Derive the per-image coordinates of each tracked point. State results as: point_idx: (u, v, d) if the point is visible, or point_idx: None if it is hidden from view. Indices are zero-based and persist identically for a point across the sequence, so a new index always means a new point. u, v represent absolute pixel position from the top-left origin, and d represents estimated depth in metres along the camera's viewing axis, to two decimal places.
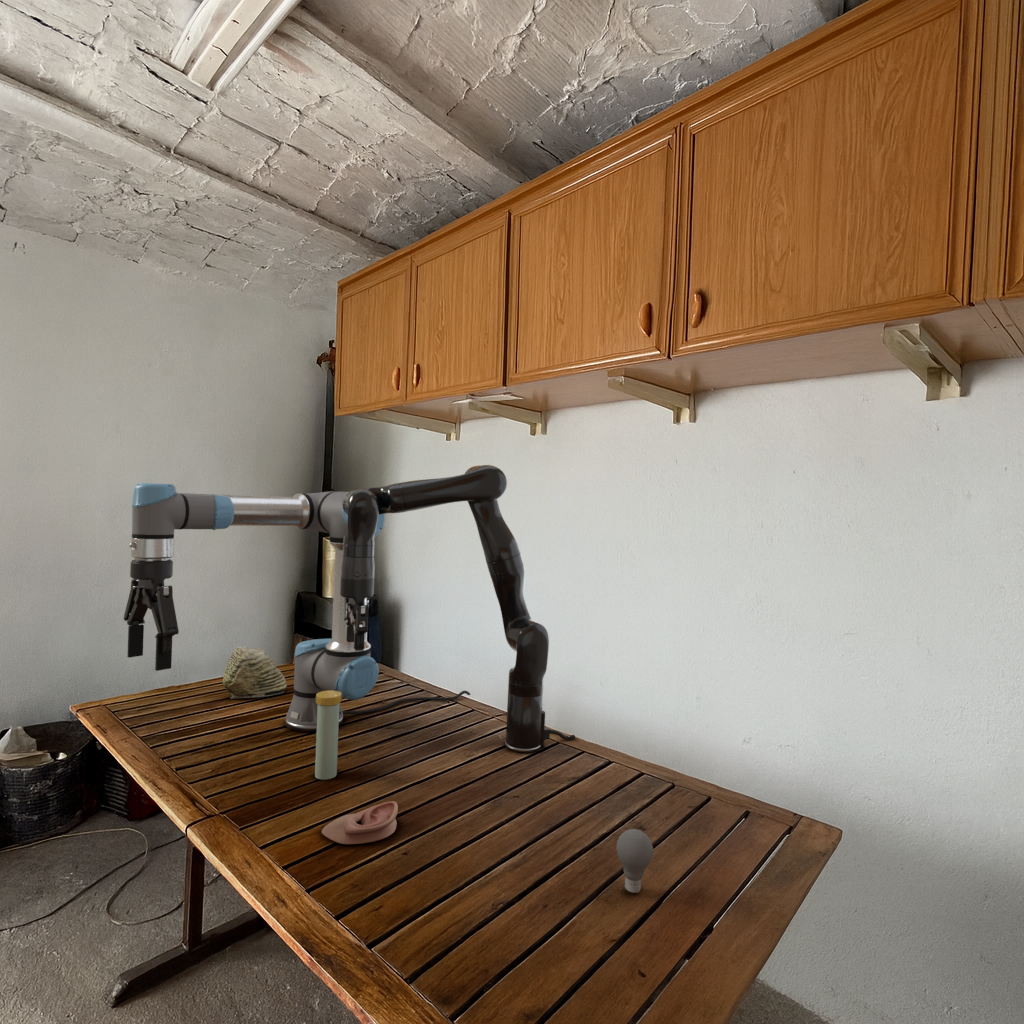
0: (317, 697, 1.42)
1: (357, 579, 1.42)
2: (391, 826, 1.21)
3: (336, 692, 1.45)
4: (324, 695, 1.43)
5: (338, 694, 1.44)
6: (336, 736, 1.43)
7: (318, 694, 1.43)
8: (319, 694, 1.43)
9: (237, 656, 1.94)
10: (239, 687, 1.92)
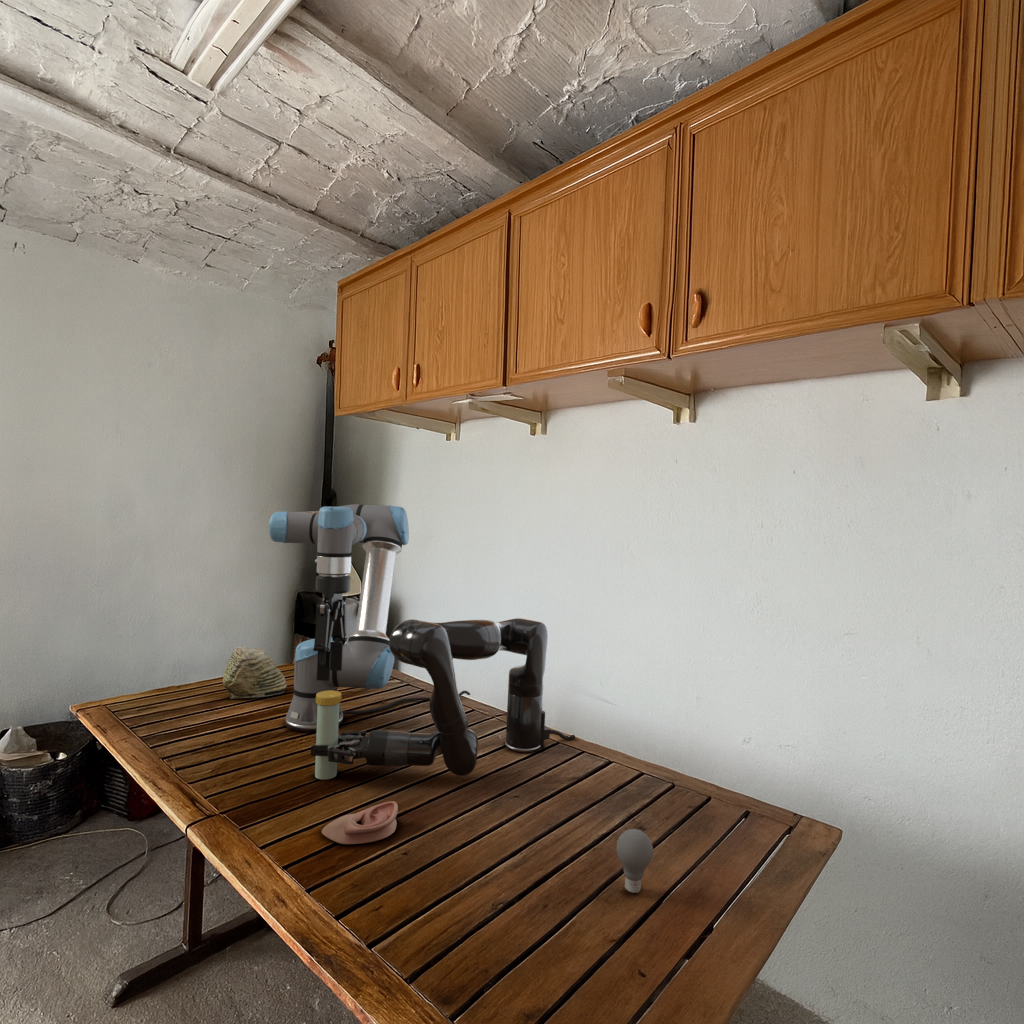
0: (317, 697, 1.42)
1: None
2: (391, 826, 1.21)
3: (336, 692, 1.45)
4: (324, 695, 1.43)
5: (338, 694, 1.44)
6: (336, 736, 1.43)
7: (318, 694, 1.43)
8: (319, 694, 1.43)
9: (237, 656, 1.94)
10: (239, 687, 1.92)
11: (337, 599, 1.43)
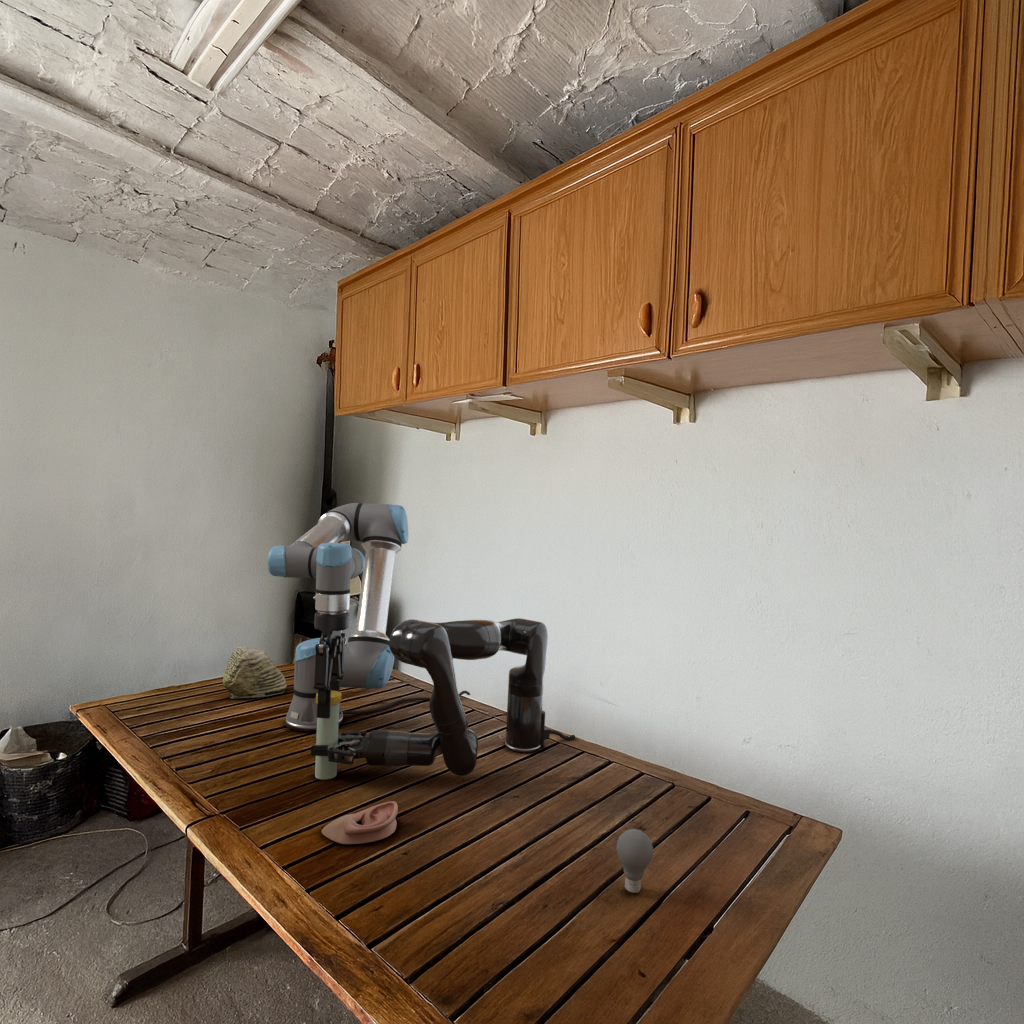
0: (317, 697, 1.42)
1: None
2: (391, 826, 1.21)
3: (336, 692, 1.45)
4: None
5: (338, 694, 1.44)
6: (336, 736, 1.43)
7: None
8: None
9: (237, 656, 1.94)
10: (239, 687, 1.92)
11: (336, 636, 1.44)
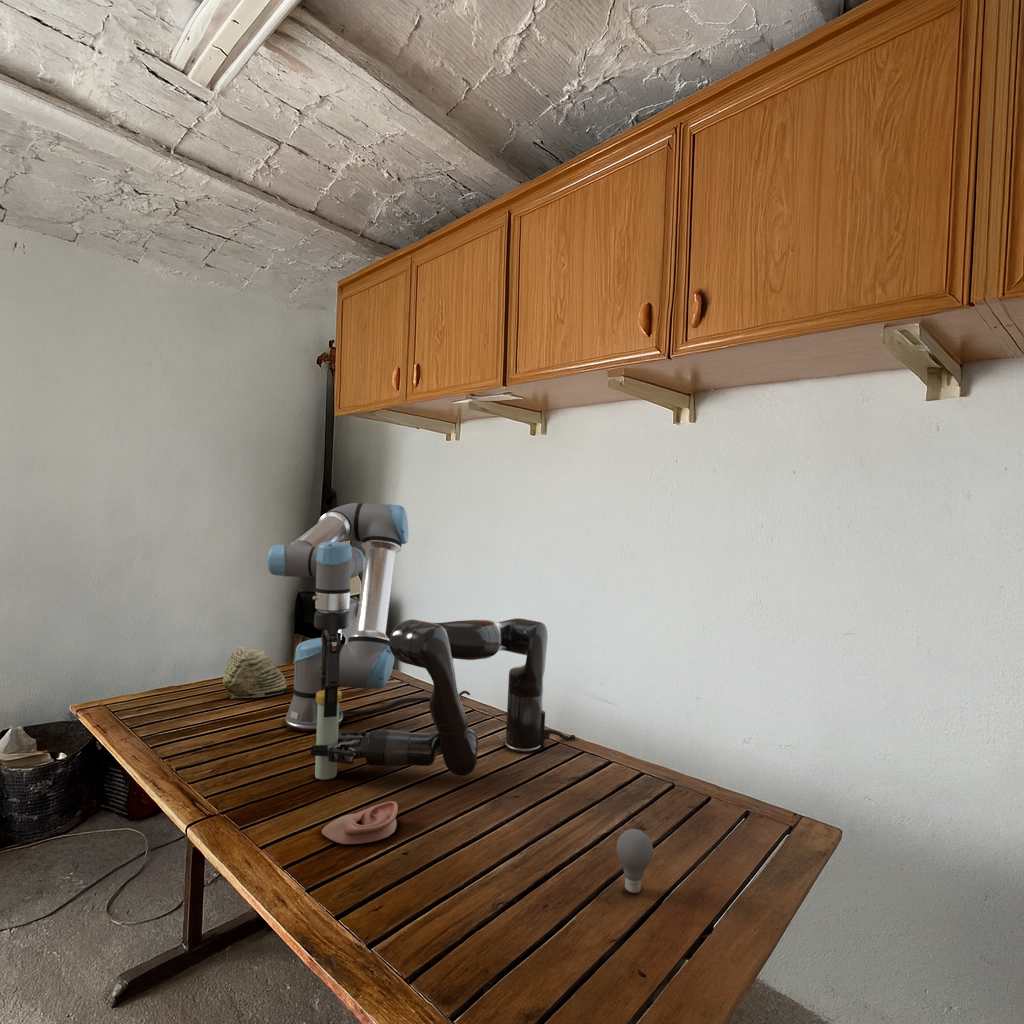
0: None
1: None
2: (391, 826, 1.21)
3: None
4: None
5: None
6: (336, 736, 1.43)
7: None
8: None
9: (237, 656, 1.94)
10: (239, 687, 1.92)
11: None
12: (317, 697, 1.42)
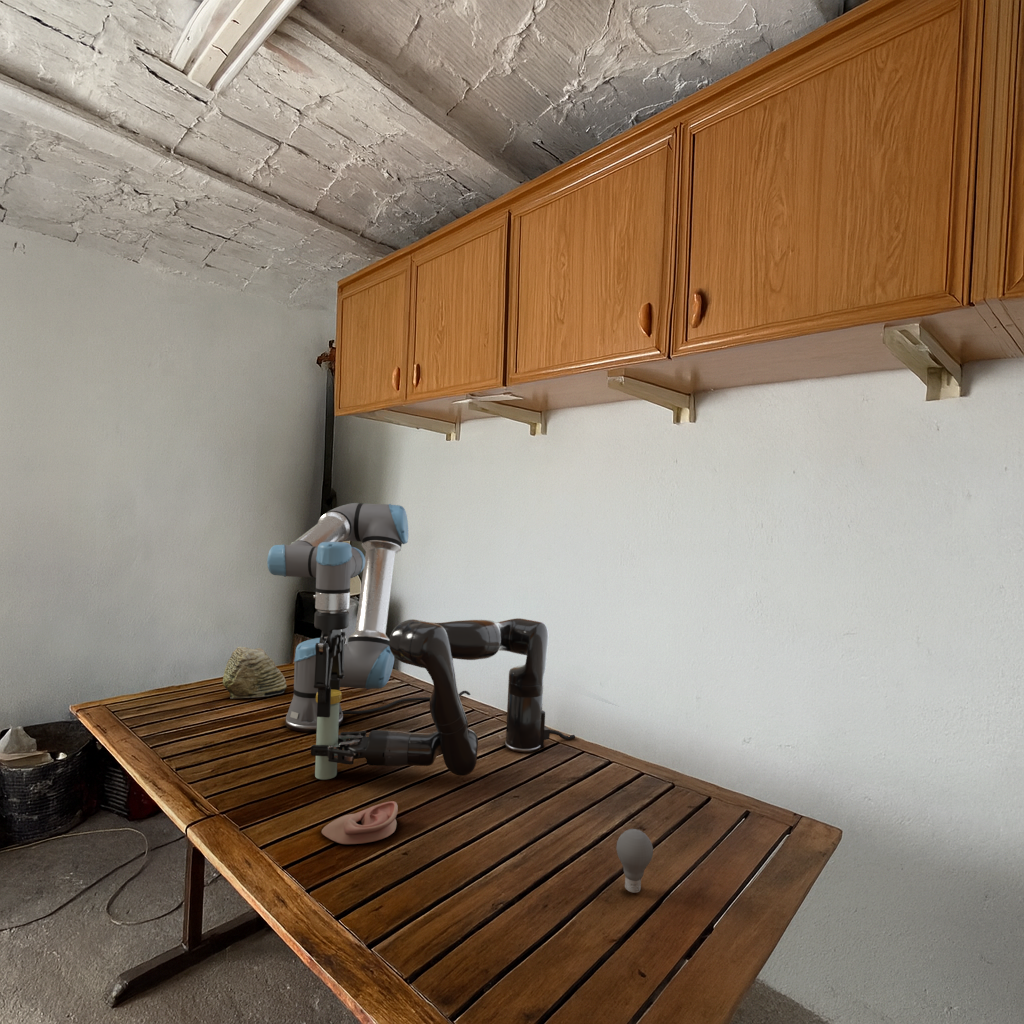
0: None
1: None
2: (391, 826, 1.21)
3: None
4: (331, 694, 1.43)
5: (334, 690, 1.46)
6: (336, 736, 1.43)
7: None
8: None
9: (237, 656, 1.94)
10: (239, 687, 1.92)
11: (336, 635, 1.44)
12: (317, 697, 1.42)
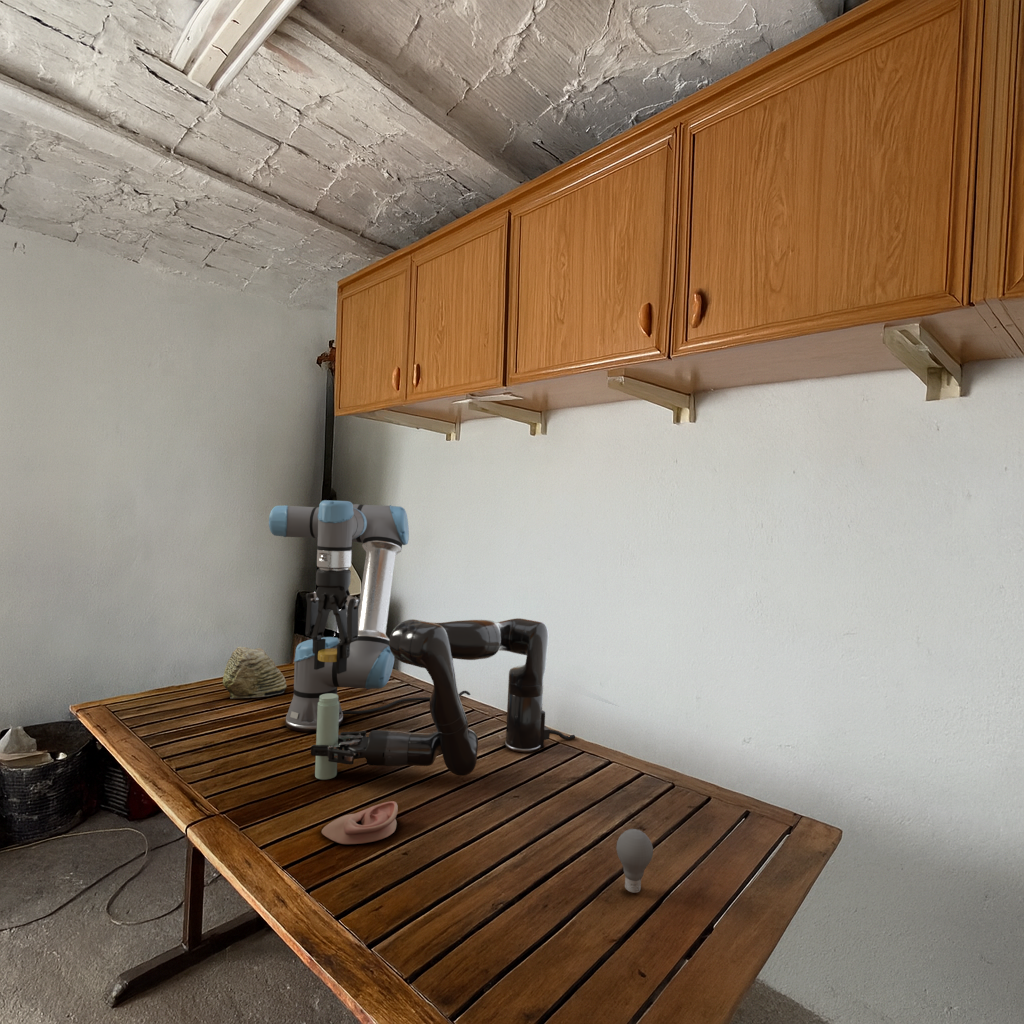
0: None
1: None
2: (391, 826, 1.21)
3: (321, 651, 1.44)
4: (336, 651, 1.44)
5: (325, 649, 1.45)
6: (336, 736, 1.43)
7: None
8: None
9: (237, 656, 1.94)
10: (239, 687, 1.92)
11: None
12: (331, 656, 1.41)
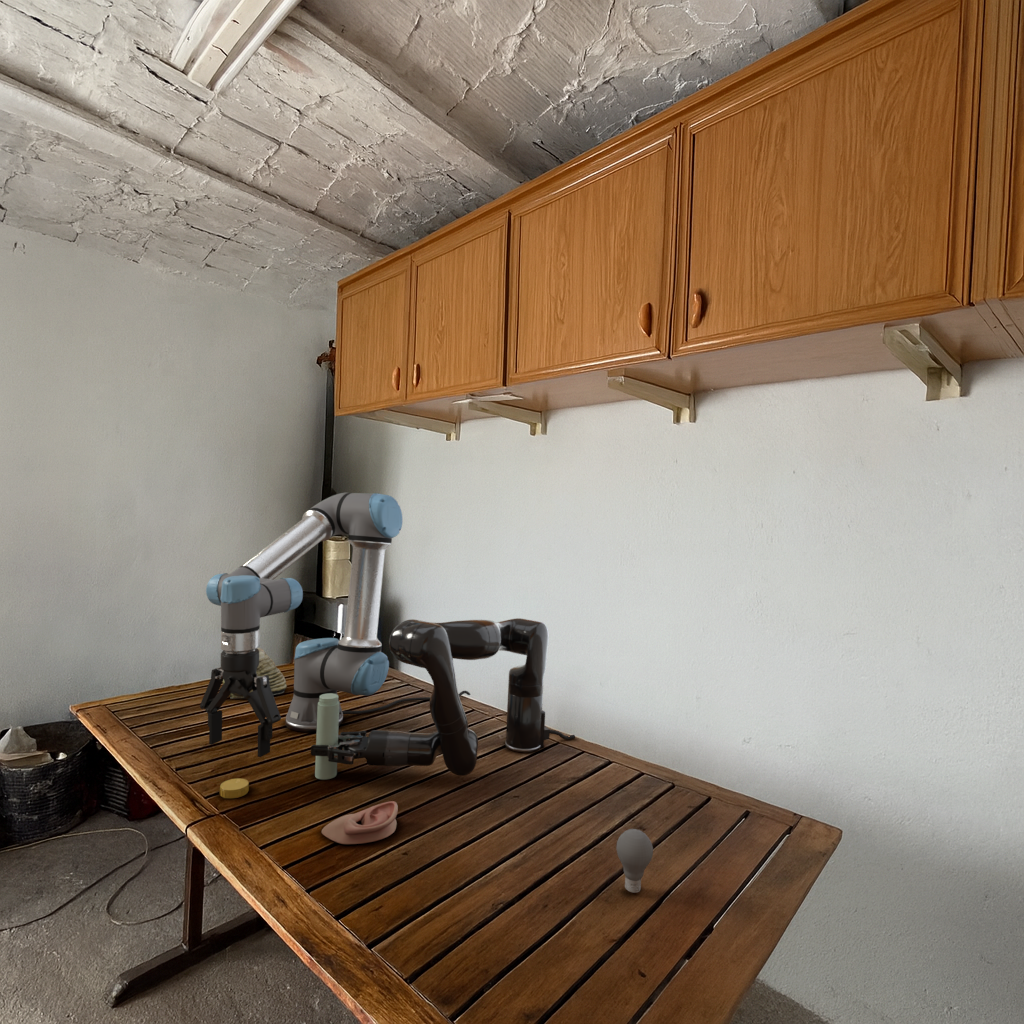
0: (247, 786, 1.34)
1: None
2: (391, 826, 1.21)
3: (223, 784, 1.34)
4: (241, 783, 1.34)
5: (229, 780, 1.35)
6: (336, 736, 1.43)
7: (242, 786, 1.33)
8: (241, 786, 1.33)
9: None
10: None
11: None
12: (233, 792, 1.31)
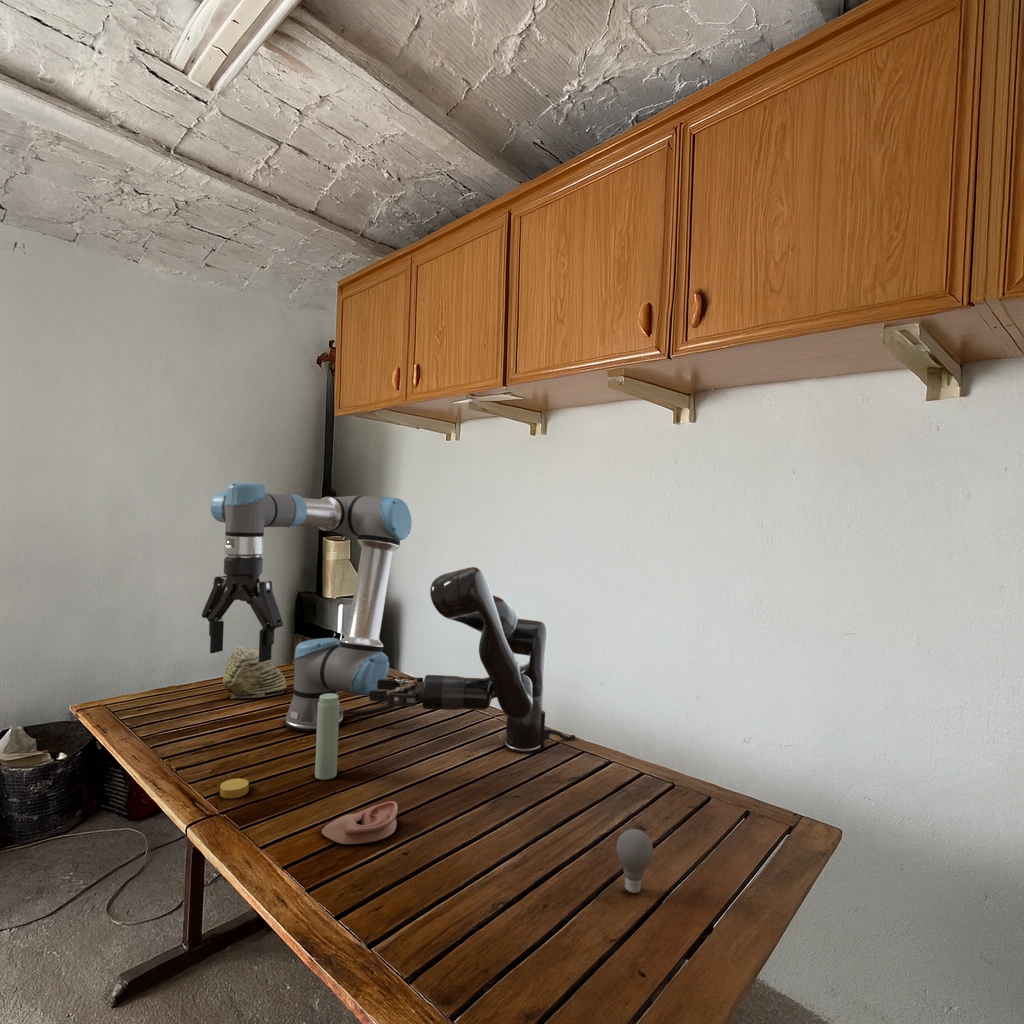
0: (247, 786, 1.34)
1: None
2: (391, 826, 1.21)
3: (223, 784, 1.34)
4: (241, 783, 1.34)
5: (229, 780, 1.35)
6: (336, 736, 1.43)
7: (242, 786, 1.33)
8: (241, 786, 1.33)
9: (237, 656, 1.94)
10: (239, 687, 1.92)
11: None
12: (233, 792, 1.31)
